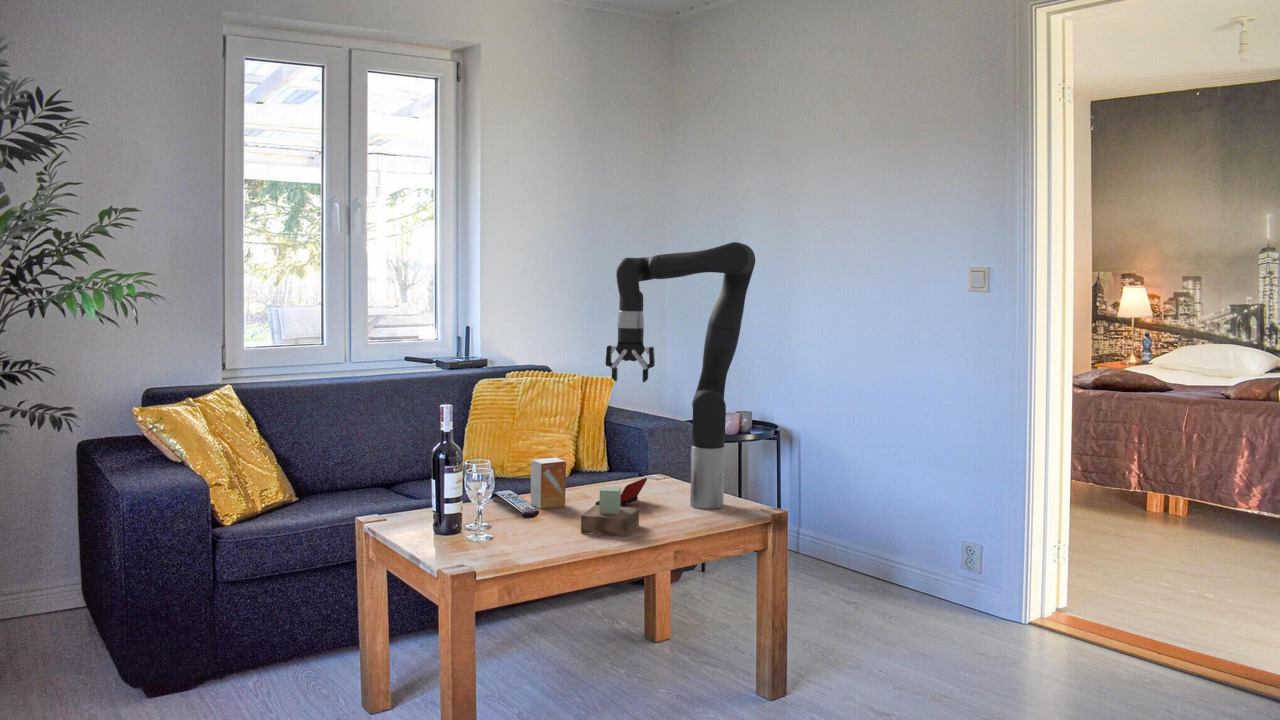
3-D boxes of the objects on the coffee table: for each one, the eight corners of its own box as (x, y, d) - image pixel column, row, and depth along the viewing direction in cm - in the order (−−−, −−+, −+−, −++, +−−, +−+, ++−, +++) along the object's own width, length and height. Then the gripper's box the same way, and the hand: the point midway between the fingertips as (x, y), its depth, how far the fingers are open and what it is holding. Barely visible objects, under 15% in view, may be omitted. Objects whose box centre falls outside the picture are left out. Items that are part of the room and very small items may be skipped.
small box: (540, 509, 277) (540, 463, 276) (530, 504, 282) (530, 459, 281) (566, 506, 282) (566, 460, 280) (555, 501, 287) (555, 456, 286)
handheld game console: (615, 497, 294) (616, 472, 293) (648, 502, 289) (648, 477, 288) (593, 506, 283) (593, 480, 282) (626, 511, 278) (627, 485, 277)
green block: (620, 509, 260) (620, 486, 259) (618, 514, 255) (619, 491, 254) (601, 508, 260) (601, 486, 260) (599, 513, 255) (599, 490, 255)
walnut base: (638, 527, 262) (639, 508, 261) (626, 538, 250) (626, 519, 250) (595, 523, 265) (595, 504, 265) (580, 534, 254) (581, 515, 253)
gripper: (656, 326, 294) (655, 381, 296) (609, 324, 296) (608, 379, 298) (653, 327, 287) (652, 383, 288) (604, 326, 289) (603, 382, 290)
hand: (629, 381), depth 293 cm, fingers open, 8 cm apart
